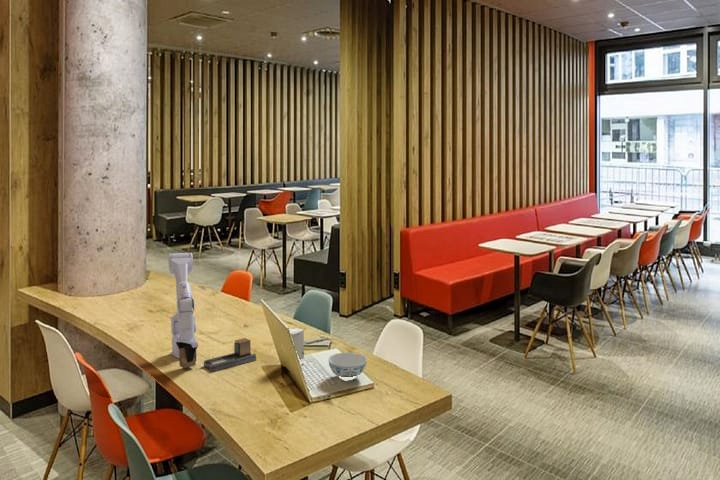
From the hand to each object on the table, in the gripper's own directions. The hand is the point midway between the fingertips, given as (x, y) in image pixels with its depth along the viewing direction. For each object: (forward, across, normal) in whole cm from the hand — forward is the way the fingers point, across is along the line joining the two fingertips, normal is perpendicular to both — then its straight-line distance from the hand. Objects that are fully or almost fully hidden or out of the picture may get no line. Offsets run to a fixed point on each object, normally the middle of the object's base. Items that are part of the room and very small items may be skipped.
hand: (187, 360), depth 235 cm
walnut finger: (+2, 0, 0) cm, 2 cm away
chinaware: (+4, +50, +42) cm, 65 cm away
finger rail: (+3, +6, +16) cm, 17 cm away
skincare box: (+4, +25, +34) cm, 42 cm away
